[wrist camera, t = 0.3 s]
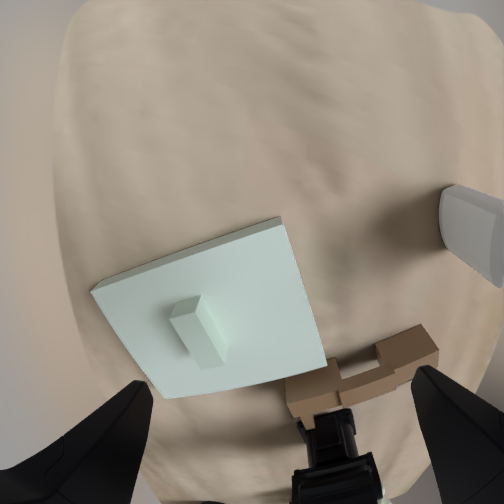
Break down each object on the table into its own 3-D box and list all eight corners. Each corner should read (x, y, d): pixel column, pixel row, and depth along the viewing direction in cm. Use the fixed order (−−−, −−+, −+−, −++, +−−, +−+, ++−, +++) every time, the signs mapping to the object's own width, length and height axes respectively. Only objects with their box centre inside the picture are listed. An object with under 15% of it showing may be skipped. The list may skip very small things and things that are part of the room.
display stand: (323, 350, 24) (332, 383, 20) (169, 385, 27) (160, 415, 23) (280, 216, 20) (285, 235, 16) (101, 280, 22) (77, 305, 18)
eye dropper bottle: (424, 243, 20) (519, 325, 9) (443, 177, 18) (559, 223, 7) (459, 252, 20) (547, 325, 9) (477, 192, 18) (580, 241, 7)
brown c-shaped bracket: (420, 376, 26) (434, 403, 22) (304, 416, 28) (308, 447, 24) (421, 324, 23) (441, 352, 19) (284, 372, 25) (286, 407, 21)
